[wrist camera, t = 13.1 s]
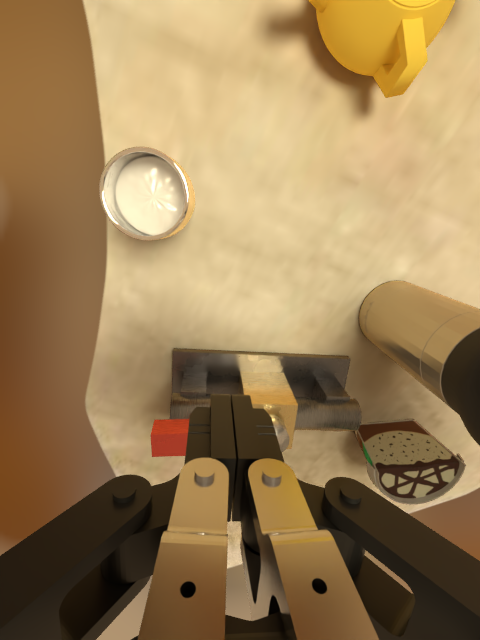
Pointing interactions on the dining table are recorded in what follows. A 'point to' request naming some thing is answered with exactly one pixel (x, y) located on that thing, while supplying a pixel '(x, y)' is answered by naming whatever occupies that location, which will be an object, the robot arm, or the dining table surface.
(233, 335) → the dining table surface
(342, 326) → the dining table surface
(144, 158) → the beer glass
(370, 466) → the food container
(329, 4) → the teapot
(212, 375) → the valve pipe
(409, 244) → the dining table surface
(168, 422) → the valve lever
